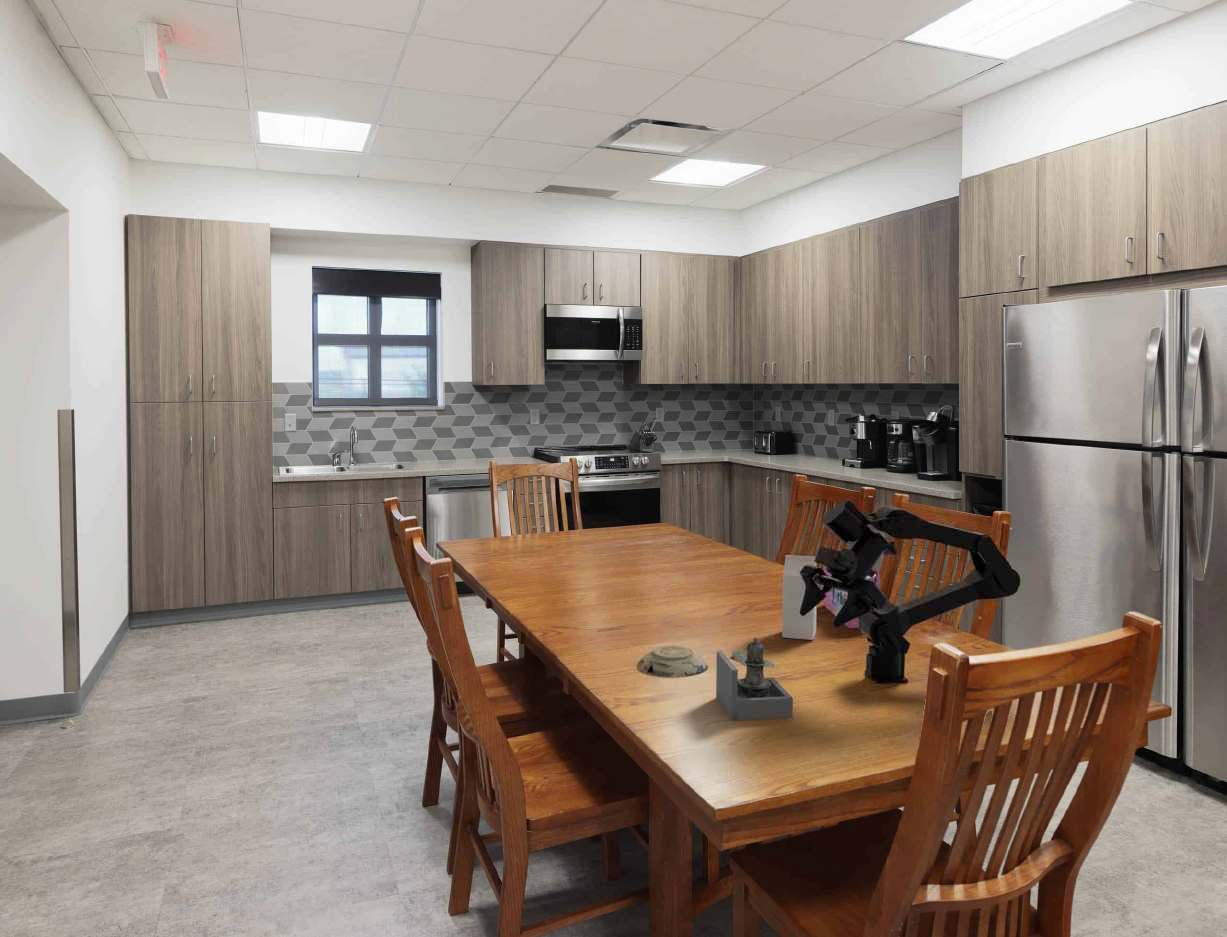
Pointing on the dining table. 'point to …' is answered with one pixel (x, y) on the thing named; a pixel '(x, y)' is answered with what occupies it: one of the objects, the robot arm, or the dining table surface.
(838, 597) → the gum box
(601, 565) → the dining table surface
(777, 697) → the shaker rack
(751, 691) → the salt shaker
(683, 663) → the decorative bowl
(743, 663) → the leaf
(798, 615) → the milk carton
